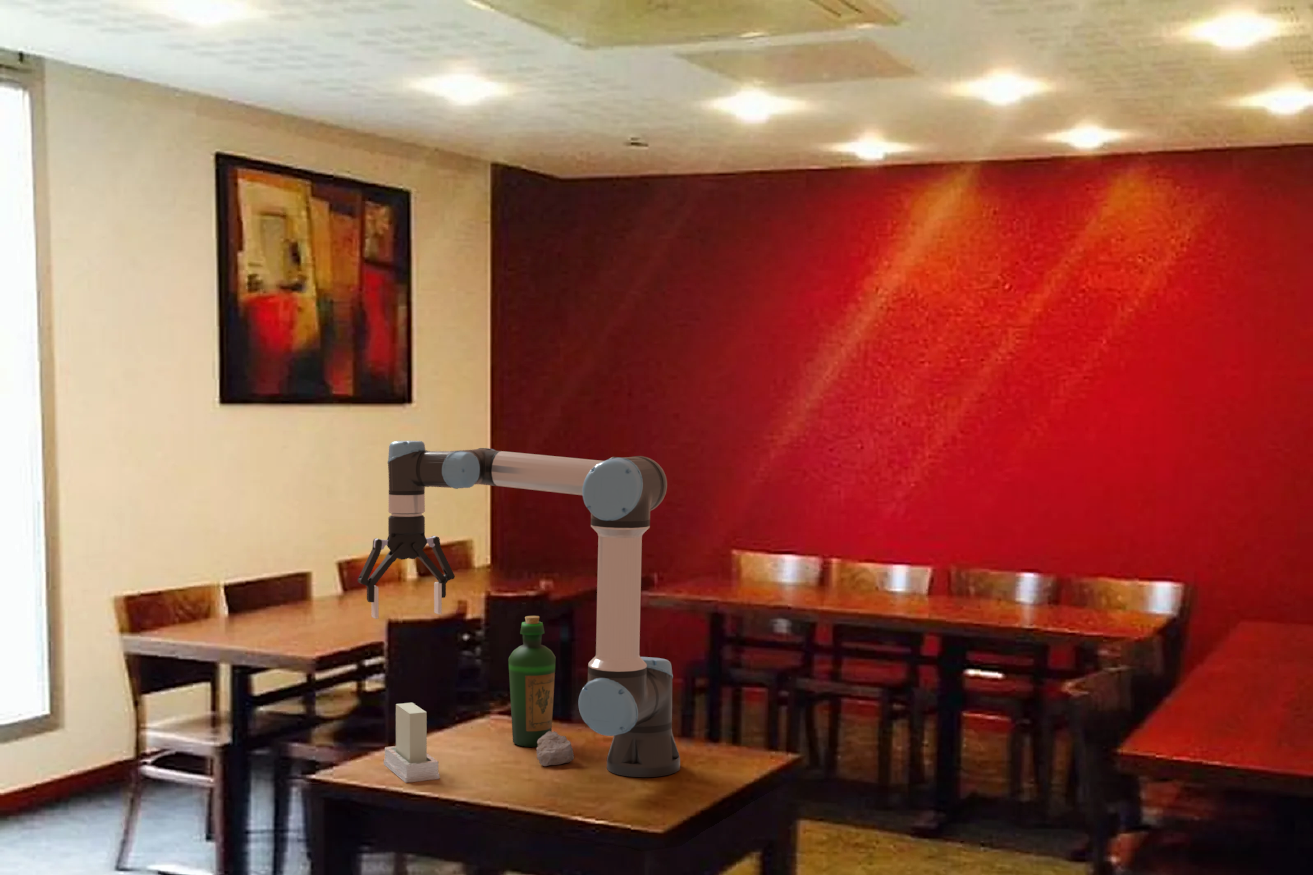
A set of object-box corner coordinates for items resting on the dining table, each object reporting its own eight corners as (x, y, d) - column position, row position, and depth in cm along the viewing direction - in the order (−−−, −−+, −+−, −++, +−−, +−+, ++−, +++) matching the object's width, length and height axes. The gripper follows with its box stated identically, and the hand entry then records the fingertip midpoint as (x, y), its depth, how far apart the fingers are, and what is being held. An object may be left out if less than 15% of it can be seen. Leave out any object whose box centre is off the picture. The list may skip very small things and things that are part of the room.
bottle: (548, 750, 321) (549, 621, 320) (501, 747, 323) (501, 619, 322) (561, 738, 332) (562, 614, 331) (515, 736, 334) (515, 612, 333)
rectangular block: (426, 771, 299) (426, 712, 299) (409, 773, 298) (409, 713, 297) (412, 760, 308) (412, 702, 308) (395, 761, 307) (395, 704, 306)
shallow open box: (439, 778, 297) (439, 761, 297) (405, 782, 294) (405, 765, 294) (416, 760, 312) (416, 744, 312) (383, 764, 309) (383, 747, 309)
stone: (526, 758, 315) (526, 730, 315) (562, 754, 318) (562, 727, 318) (540, 769, 306) (540, 741, 306) (577, 765, 309) (577, 738, 309)
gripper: (457, 511, 319) (457, 609, 320) (343, 515, 308) (343, 616, 309) (469, 513, 313) (469, 614, 313) (352, 518, 301) (352, 622, 302)
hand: (406, 615), depth 311 cm, fingers open, 13 cm apart
